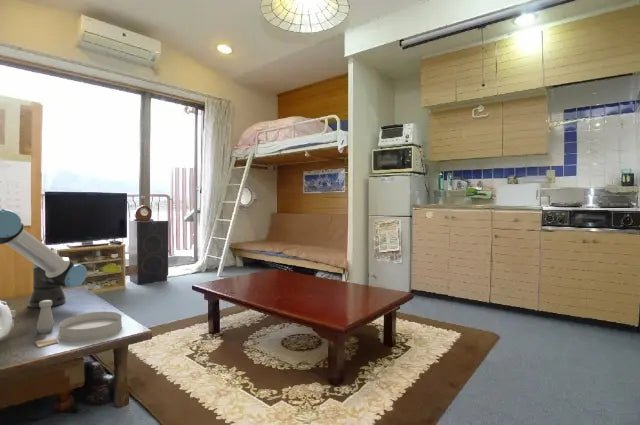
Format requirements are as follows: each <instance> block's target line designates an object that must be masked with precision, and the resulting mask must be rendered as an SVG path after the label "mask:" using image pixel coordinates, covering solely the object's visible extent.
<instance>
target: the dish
mask: <svg viewBox="0 0 640 425" xmlns="http://www.w3.org/2000/svg"><path fill="white" fill-rule="evenodd" d="M122 323H123V321H122V314H120V313H119V312H113V311H93V312H87V313H82V314H76V315H73V316H70V317H67V318H65V319H63V320H62V321H61V322H60V323H59V330H58V337H59V339H61V340H63V341H65V342H66V341H67V342H86V341H94V340H98V339H99V340H100V339H104V338H106V336H107V337H110V336H112V335H114V334H116V333H118V332H120V331H121V330H122V327H123V326H122V325H123V324H122ZM109 335H110V336H109Z"/></svg>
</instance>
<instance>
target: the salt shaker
mask: <svg viewBox="0 0 640 425" xmlns="http://www.w3.org/2000/svg"><path fill="white" fill-rule="evenodd" d="M51 306H52V301H51V300H43V301H41V302H40V303H39V307H41V308H40V311H39V315H38V319H37V322H36V323H37V324H36V325H35V326H36V328H35V329H36V330H37V331H38V334H47V333H48V334H49V333H51V332H52V331H53V329H54V327H55V321H54V317H53V312H52V308H51ZM52 307H53V306H52Z"/></svg>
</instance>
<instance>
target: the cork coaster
mask: <svg viewBox="0 0 640 425" xmlns="http://www.w3.org/2000/svg"><path fill="white" fill-rule="evenodd" d="M56 344H59V341H58V340H57V338H55V337H49V338H45V339H42V340H37V341H34V345H36V347H37V348H38V349H39V348H42V347H49V346H52V345H56Z"/></svg>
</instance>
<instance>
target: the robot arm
mask: <svg viewBox="0 0 640 425" xmlns="http://www.w3.org/2000/svg"><path fill="white" fill-rule="evenodd" d="M0 245H6V246H8V247H9V248H11V249H12V250H14V251H15V252H17V253H18V254H19V255H21V256H22V257H24V258H26V259H27V260H28V261H29V262H31V263H33V268H32V270H33V273H32V274H33V278H32V279H33V280H32V282H33V283H32V284H33V285H32V287H33V288H32V291H31V292H32V293H31V295H30V297H29V300H28V302H27V303H28V304H27V305H28V307H29V308H31V309H32V308H33V309H41V307H39V303H40V302H41V301H43V300H51V301H52V306H51V307H52V308H53V307H56V306H61V305H63V304H65V303H66V302H67V301H66V294H65V292H64V289H63V287H67V288H76V287H80V286H81V285H82V284H83V283H84V282H85V281H86V278H87V276H88V275H87V273H88V271H87V268H86V266H85V265H83V264H81V263H75V261H73V260H71V259H70V258H69V257H65V256H61V255H59V254H57V253H56V252H54V251H53V250H52V249H51V248H50V247H48V246H47V245H45V244H44V243H43V242H42V241H40V240H39V239H38V238H36V237H34V235H32V234H31V233H30V232H28V231H27V230H26V229H25V225H24V224H23V223H22V219H21V218H20V216H19V215H18V214H17V213H16V212H15V211H12V210H10V209H7V208H0ZM10 311H11V314H12V317H11V318H15V317H16V310H15V309H13V310H10ZM11 320H12V325H11V327H10V328H14V326H15V324H14V323H15V319H11Z"/></svg>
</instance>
